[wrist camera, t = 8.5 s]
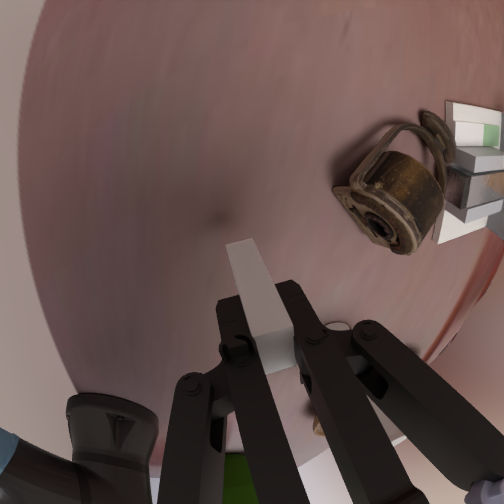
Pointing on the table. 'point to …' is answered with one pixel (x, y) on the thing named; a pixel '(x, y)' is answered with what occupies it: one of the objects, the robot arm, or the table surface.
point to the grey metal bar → (473, 186)
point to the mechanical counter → (400, 188)
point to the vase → (238, 481)
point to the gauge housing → (473, 169)
